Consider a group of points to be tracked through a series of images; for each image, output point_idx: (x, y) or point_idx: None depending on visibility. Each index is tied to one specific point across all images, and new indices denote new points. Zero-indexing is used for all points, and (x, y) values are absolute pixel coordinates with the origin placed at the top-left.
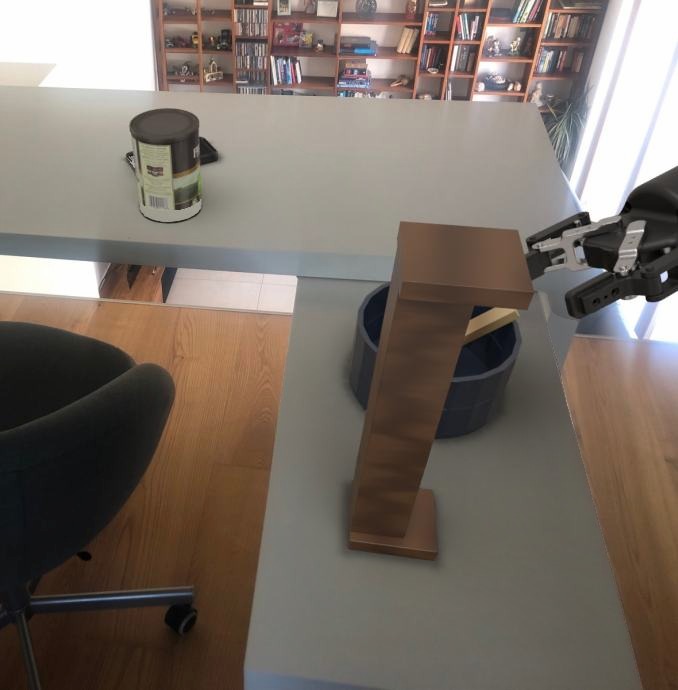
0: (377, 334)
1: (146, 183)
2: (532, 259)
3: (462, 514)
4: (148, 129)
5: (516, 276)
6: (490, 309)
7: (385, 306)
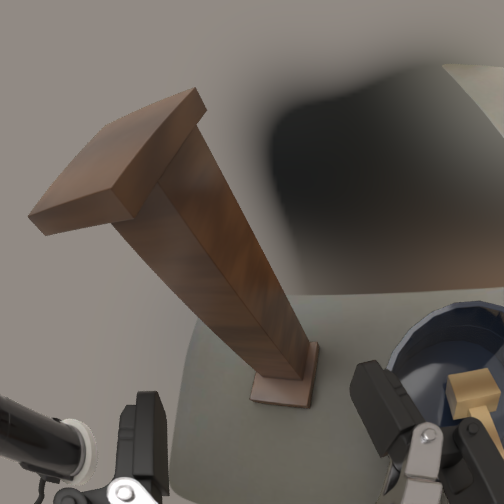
0: (498, 353)
1: None
2: (388, 421)
3: (293, 431)
4: None
5: (49, 198)
6: None
7: None
